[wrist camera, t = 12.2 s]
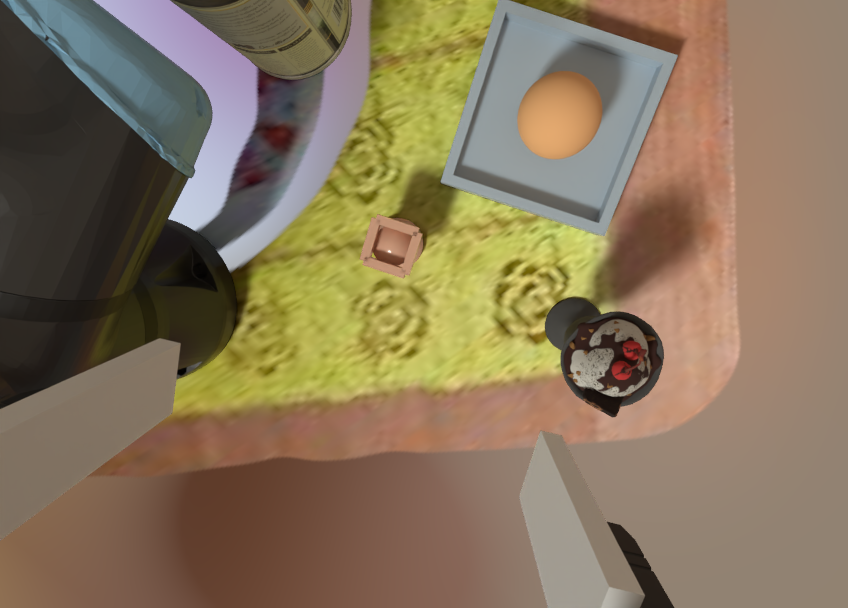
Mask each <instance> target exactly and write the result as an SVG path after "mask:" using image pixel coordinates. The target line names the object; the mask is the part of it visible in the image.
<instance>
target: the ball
mask: <svg viewBox="0 0 848 608" xmlns="http://www.w3.org/2000/svg"><path fill="white" fill-rule="evenodd" d="M601 119H602V101H601V97H600V94H599V92H598V90H597V88H596V87H595V85H594V84H593V83H592V82H591V81H590V80H589V79H588V78H586V77H585V76H583V75H581V74H579V73H576V72H572V71H558V72H553V73H550V74H548V75H546V76H544V77H542V78H540V79H539V80H537V81H536V82H535V83H534V84H533V85H532V86H531V87H530V88H529V89H528V91H527V92H526V93H525V95H524V97H523V99H522V101H521V103H520V106H519V110H518V116H517V124H518V130H519V134H520V136H521V139H522V141H523V142H524V144H525V145H526V146H527V148H528V149H529V150H531V151H532V152H533V153H535V154H536V155H538V156H540V157H543V158H547V159H564V158H567V157H570V156H573V155H575V154H577V153H578V152H580V151H581V150H583V149H584V148H585V147H586V146H587V145H588V144H589V143H590V142H591V141H592V139H593V138H594V137H595V135H596V133H597V131H598V129H599V127H600V123H601Z"/></svg>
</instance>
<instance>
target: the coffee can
mask: <svg viewBox="0 0 848 608" xmlns="http://www.w3.org/2000/svg"><path fill="white" fill-rule="evenodd" d="M170 1H172V2H173V3H174V4H176V5H177V6H178V7H180V8H181V9H182V10H184V11H185V12H186V13H188V14H189V15H191V16H192V17H193V18H194V19H196V20H197V21H198V22H200V23H201V24H203V25H204V26H205V27H206V28H208V29H209V30H210V31H212V32H213V33H214V34H216V35H217V36H218V37H220V38H221V39H222V40H224V41H225V42H226V43H228V44H229V45H230V46H232V47H233V48H234V49H236V50H237V51H239V52H240V53H241V54H242V55H244V56H245V57H246V58H248V59H249V60H250V61H251V62H252V63H253V64H254V65H255V66H257V67H258V68H259V69H261V70H262V71H264V72H266V73H268V74H269V75H271V76H274V77H278V78H282V79H289V80H297V79H303V78H308V77H311V76H313V75H315V74H318V73H320V72H321V71H322V70H324V69H325V68H327V67H328V66H329V65H330V64H331V63H332V62H333V61H334V60H335V59H336V58H337V57H338V55H339V54H340V52H341V51H342V49H343V47H344V45H345V43H346V40H347V38H348V36H349V31H350V26H351V16H352V12H351V11H352V9H351V0H170Z"/></svg>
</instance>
